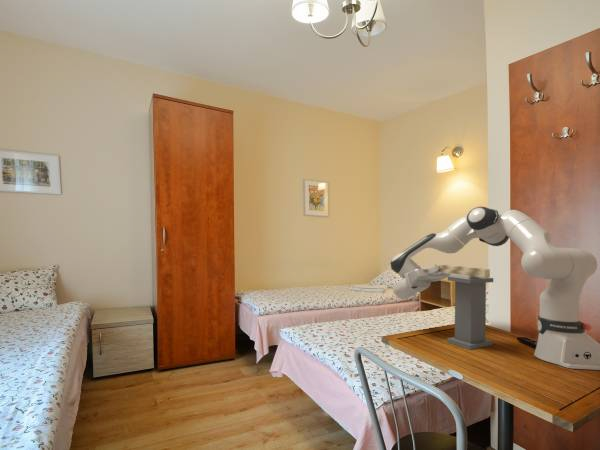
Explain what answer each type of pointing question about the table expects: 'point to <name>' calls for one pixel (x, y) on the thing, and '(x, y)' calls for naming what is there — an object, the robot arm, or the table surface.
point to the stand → (470, 311)
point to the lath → (464, 270)
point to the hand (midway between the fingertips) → (442, 267)
